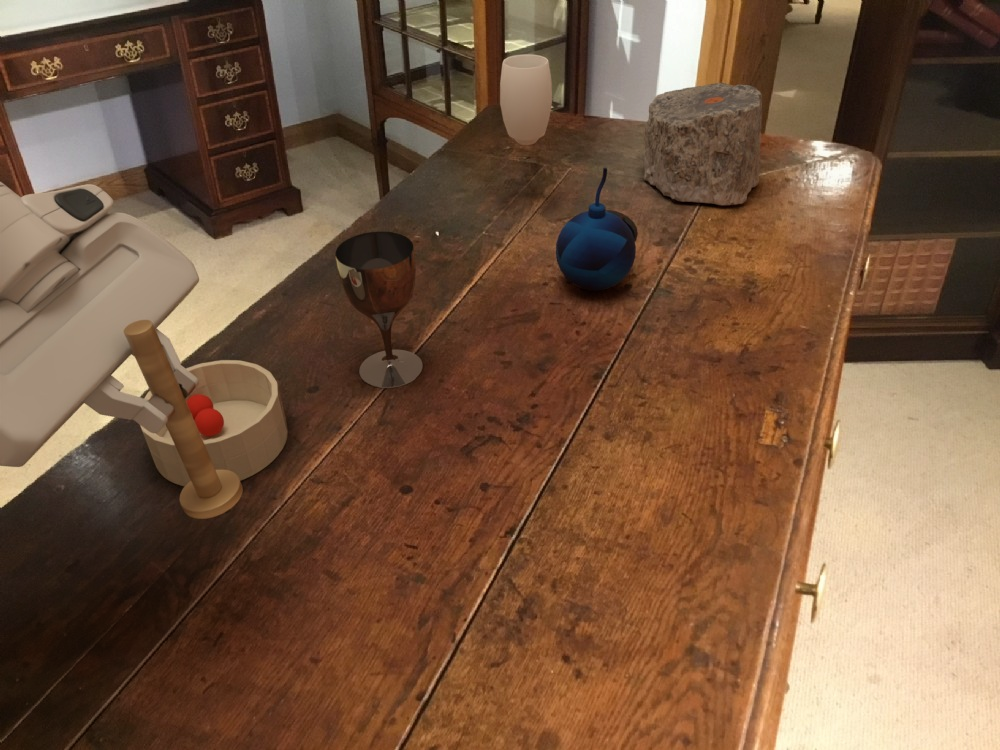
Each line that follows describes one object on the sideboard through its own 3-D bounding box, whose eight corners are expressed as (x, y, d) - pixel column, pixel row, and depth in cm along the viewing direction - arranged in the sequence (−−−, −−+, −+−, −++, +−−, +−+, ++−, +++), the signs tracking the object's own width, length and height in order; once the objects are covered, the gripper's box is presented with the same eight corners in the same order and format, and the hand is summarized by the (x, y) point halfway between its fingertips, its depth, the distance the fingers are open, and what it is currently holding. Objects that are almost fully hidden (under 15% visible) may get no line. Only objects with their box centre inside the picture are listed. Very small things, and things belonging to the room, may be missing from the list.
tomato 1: (216, 418, 89) (191, 413, 89) (219, 393, 88) (193, 388, 89) (205, 427, 87) (178, 421, 87) (207, 401, 86) (180, 396, 86)
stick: (170, 510, 62) (87, 339, 53) (212, 471, 65) (140, 304, 56) (214, 525, 60) (135, 351, 52) (255, 485, 63) (187, 314, 55)
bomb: (650, 273, 110) (659, 163, 101) (610, 313, 103) (616, 198, 94) (583, 255, 114) (586, 148, 105) (541, 291, 107) (540, 180, 98)
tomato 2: (190, 408, 84) (190, 420, 87) (199, 433, 84) (199, 444, 86) (218, 400, 86) (218, 411, 88) (228, 424, 85) (227, 435, 87)
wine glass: (435, 379, 93) (423, 259, 84) (365, 397, 91) (345, 276, 82) (414, 341, 99) (401, 225, 90) (347, 358, 97) (327, 240, 88)
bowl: (131, 486, 82) (114, 443, 78) (183, 399, 92) (169, 358, 89) (265, 490, 80) (253, 447, 77) (302, 402, 91) (293, 361, 88)
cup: (493, 204, 127) (487, 63, 115) (525, 187, 132) (522, 49, 119) (530, 217, 123) (528, 73, 111) (561, 200, 128) (563, 59, 115)
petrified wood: (637, 159, 139) (643, 65, 130) (745, 157, 138) (758, 63, 129) (648, 211, 124) (656, 109, 115) (769, 209, 123) (786, 106, 114)
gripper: (-118, 336, 44) (109, 496, 48) (110, 173, 60) (266, 304, 64) (-147, 394, 47) (67, 539, 51) (75, 226, 63) (225, 347, 67)
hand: (179, 407), depth 58 cm, fingers closed on stick, 2 cm apart
